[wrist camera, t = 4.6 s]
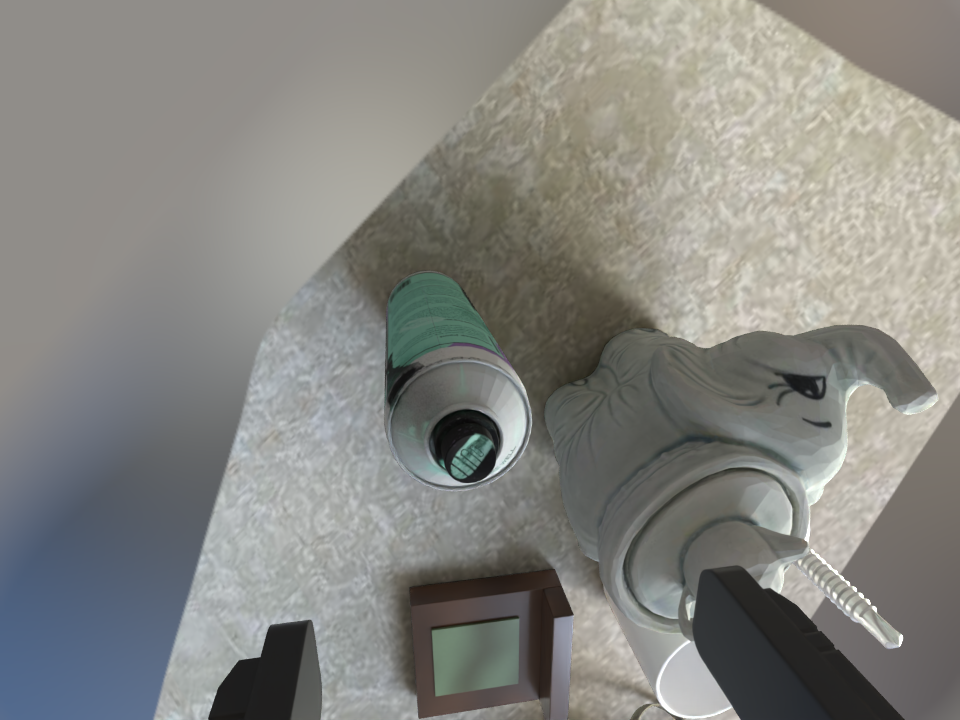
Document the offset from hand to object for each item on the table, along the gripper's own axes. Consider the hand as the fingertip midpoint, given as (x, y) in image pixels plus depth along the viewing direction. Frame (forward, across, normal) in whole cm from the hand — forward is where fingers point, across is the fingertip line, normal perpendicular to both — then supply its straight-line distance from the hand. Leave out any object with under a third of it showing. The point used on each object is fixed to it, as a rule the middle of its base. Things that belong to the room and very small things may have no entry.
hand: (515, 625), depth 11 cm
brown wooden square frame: (+27, -4, +28) cm, 39 cm away
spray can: (+27, 0, 0) cm, 27 cm away
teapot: (+27, -16, +6) cm, 32 cm away
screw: (+27, -28, +20) cm, 44 cm away
